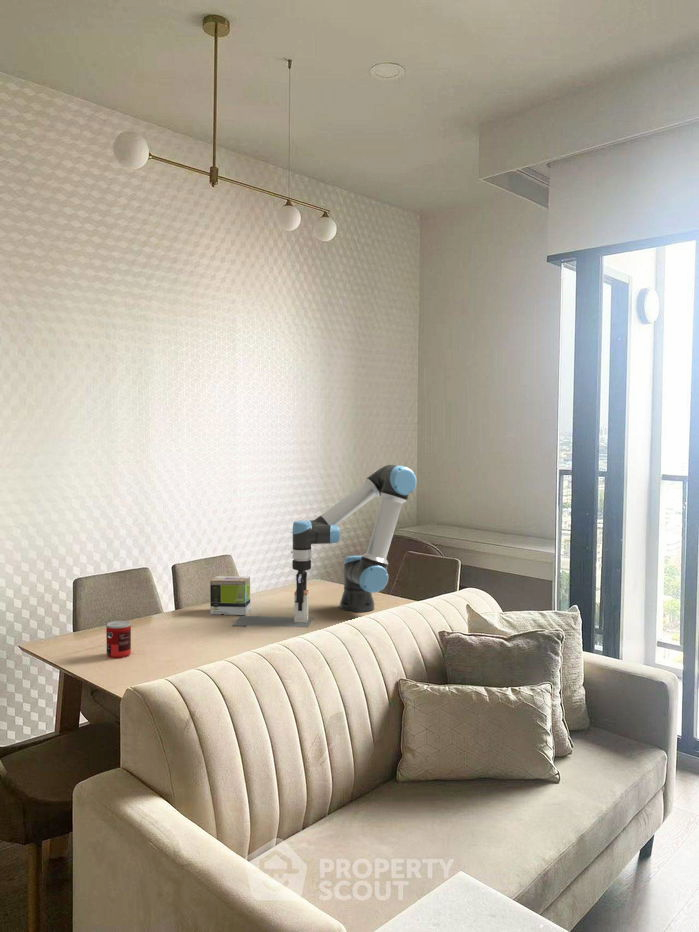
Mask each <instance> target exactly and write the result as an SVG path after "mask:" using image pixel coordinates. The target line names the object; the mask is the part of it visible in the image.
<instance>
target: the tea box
mask: <svg viewBox="0 0 699 932" xmlns="http://www.w3.org/2000/svg"><path fill="white" fill-rule="evenodd" d="M209 582H210V583H209V584H210V585H209V587H210V588H209V591H210V592H209V593H210V594H209V596H210V597H209V599H210V601H209V602H210V615H221V614H224V615H226V616H227V615H231V616H247V614H248V613H249V612H250V611H251V577H250V576H239V575H238V576H236V575H235V576H225V575H216V576H215V577H214V578H211V580H209ZM249 610H250V611H249ZM248 611H249V612H248ZM247 612H248V613H247ZM246 613H247V614H246Z"/></svg>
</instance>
